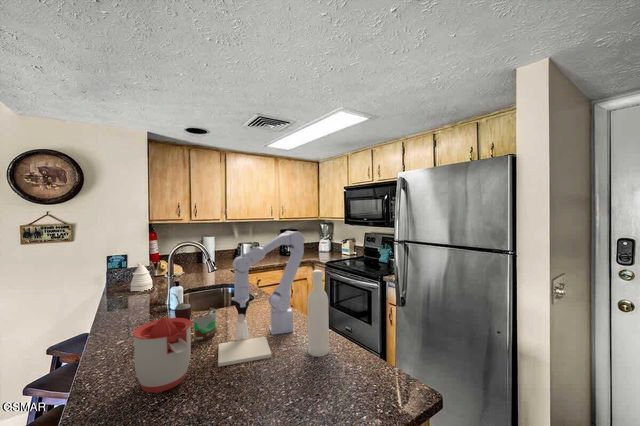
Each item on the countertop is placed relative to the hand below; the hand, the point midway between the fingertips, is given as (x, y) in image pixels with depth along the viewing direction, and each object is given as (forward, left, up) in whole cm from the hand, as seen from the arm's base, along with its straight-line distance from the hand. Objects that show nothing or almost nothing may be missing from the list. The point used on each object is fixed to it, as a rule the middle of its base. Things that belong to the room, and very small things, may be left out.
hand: (242, 319), depth 115 cm
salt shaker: (0, 0, -7) cm, 7 cm away
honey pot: (+61, -106, -8) cm, 122 cm away
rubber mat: (0, +11, -8) cm, 13 cm away
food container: (+13, -8, -8) cm, 18 cm away
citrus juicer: (+24, +22, -8) cm, 34 cm away
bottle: (-26, +20, -8) cm, 34 cm away
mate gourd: (+26, -31, -8) cm, 41 cm away
